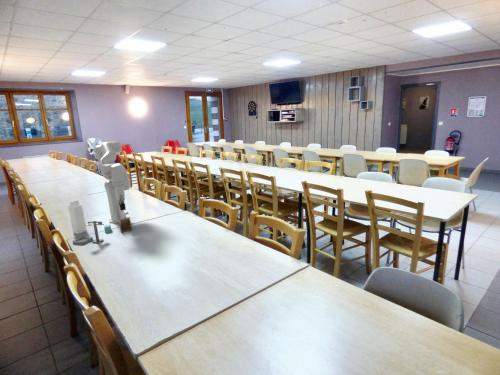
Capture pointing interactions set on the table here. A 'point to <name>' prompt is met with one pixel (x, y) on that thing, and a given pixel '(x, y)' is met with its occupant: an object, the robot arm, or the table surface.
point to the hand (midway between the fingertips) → (122, 208)
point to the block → (107, 228)
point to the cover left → (125, 225)
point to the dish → (83, 240)
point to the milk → (77, 217)
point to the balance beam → (93, 223)
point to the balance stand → (96, 235)
